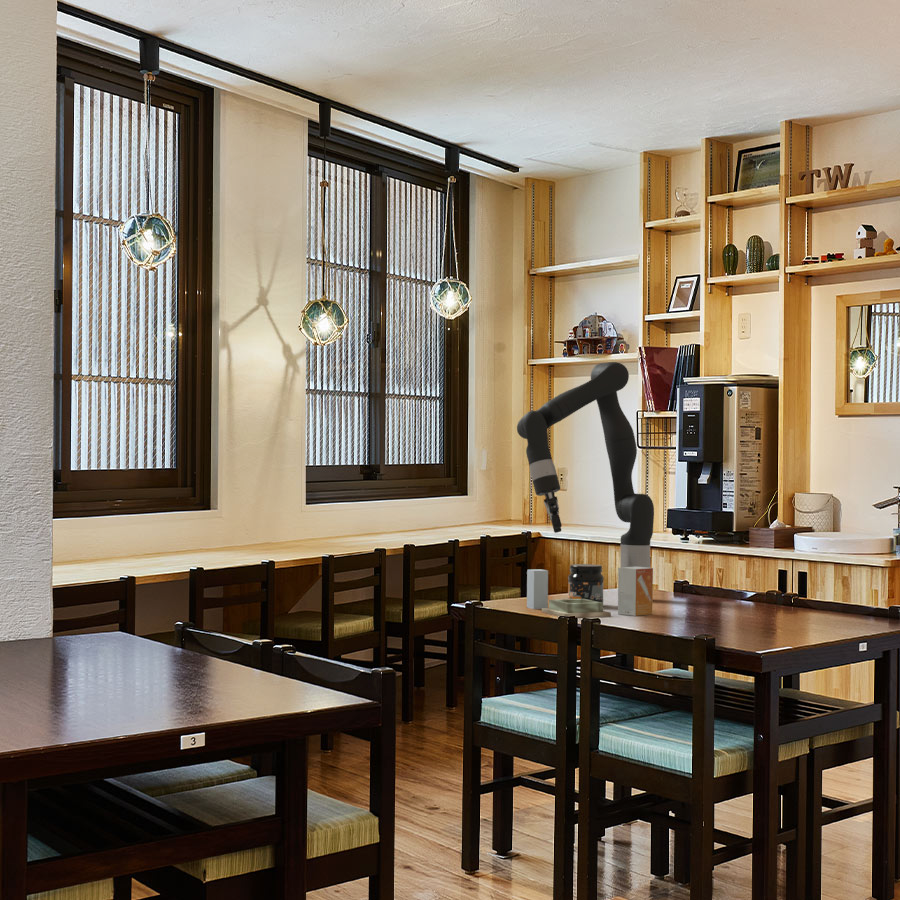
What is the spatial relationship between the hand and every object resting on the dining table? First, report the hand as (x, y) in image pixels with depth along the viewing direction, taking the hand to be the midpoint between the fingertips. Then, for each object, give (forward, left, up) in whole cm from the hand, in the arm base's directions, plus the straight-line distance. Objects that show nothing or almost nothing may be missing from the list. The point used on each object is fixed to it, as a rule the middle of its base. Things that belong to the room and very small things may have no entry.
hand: (558, 529), depth 320 cm
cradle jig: (+3, +17, -22) cm, 28 cm away
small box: (-13, +22, -23) cm, 34 cm away
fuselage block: (+7, +1, -23) cm, 24 cm away
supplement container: (-10, -1, -23) cm, 25 cm away
